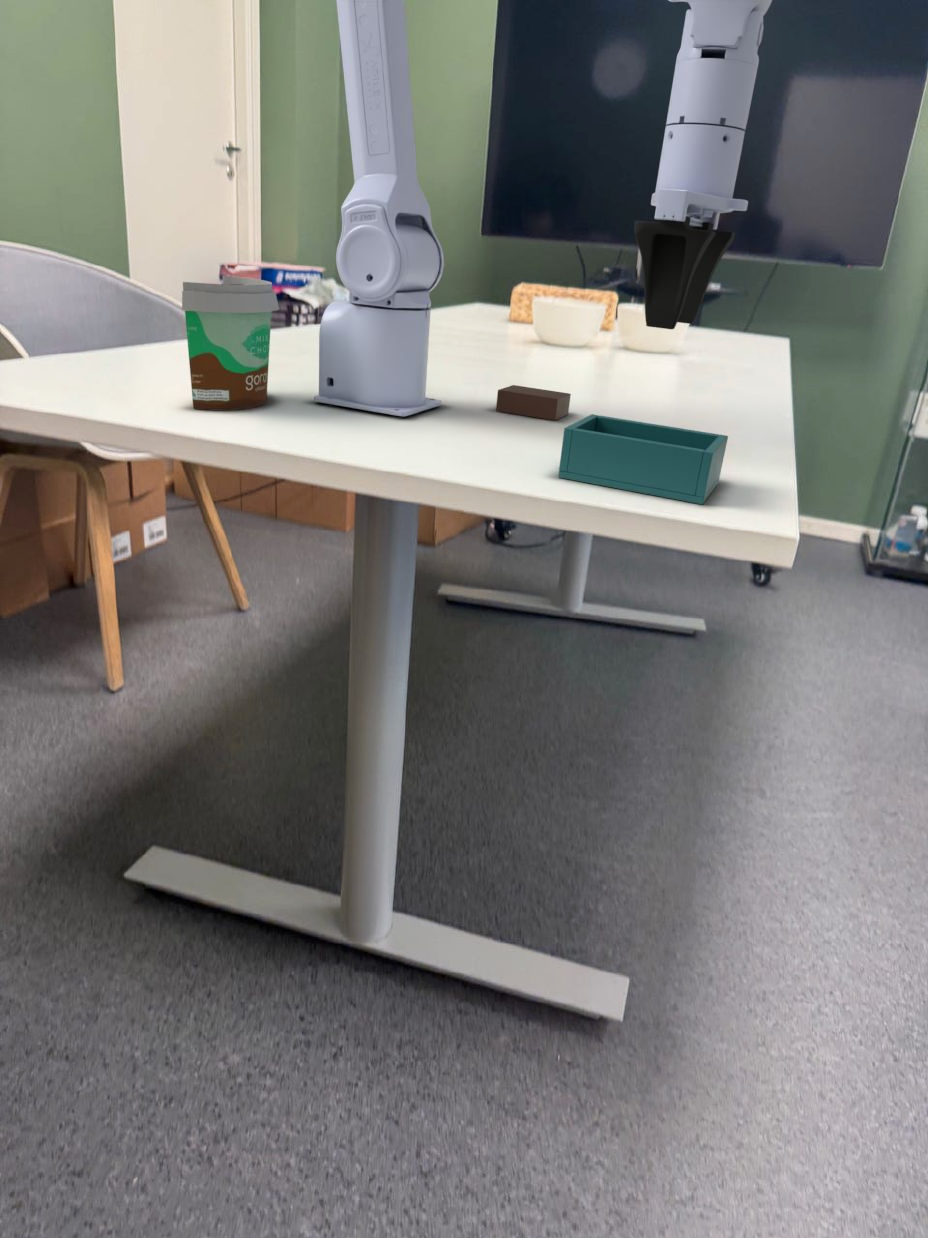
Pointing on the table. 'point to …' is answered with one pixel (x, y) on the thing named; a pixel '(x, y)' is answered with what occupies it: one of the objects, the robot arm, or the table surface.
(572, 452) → the open storage box
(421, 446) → the table surface
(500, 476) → the table surface
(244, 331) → the food container
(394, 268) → the robot arm
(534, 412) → the chocolate bar
